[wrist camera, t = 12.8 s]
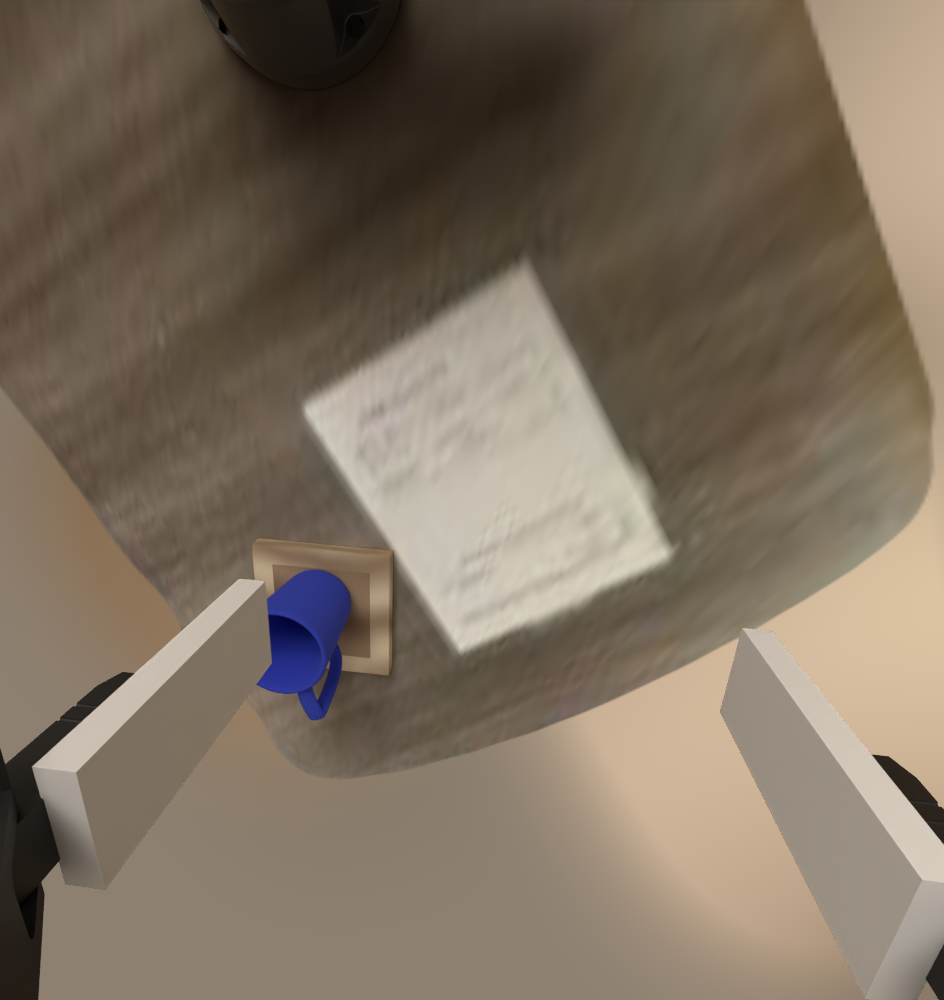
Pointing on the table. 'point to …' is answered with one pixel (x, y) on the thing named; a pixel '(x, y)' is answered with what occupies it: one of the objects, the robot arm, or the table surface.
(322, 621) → the mug
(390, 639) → the trivet
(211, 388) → the table surface
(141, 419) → the table surface
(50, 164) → the table surface
